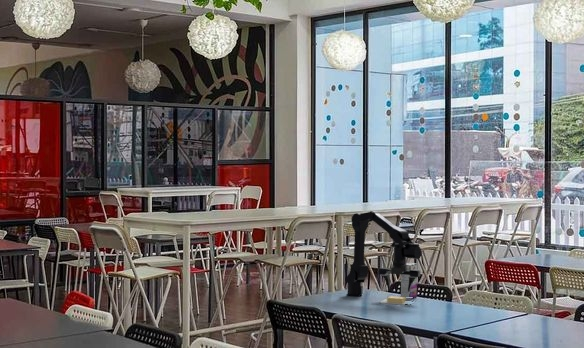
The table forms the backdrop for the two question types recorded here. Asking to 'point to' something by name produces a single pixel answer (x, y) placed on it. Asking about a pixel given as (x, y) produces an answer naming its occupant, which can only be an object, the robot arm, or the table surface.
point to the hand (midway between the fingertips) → (398, 291)
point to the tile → (396, 299)
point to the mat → (395, 303)
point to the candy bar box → (406, 282)
